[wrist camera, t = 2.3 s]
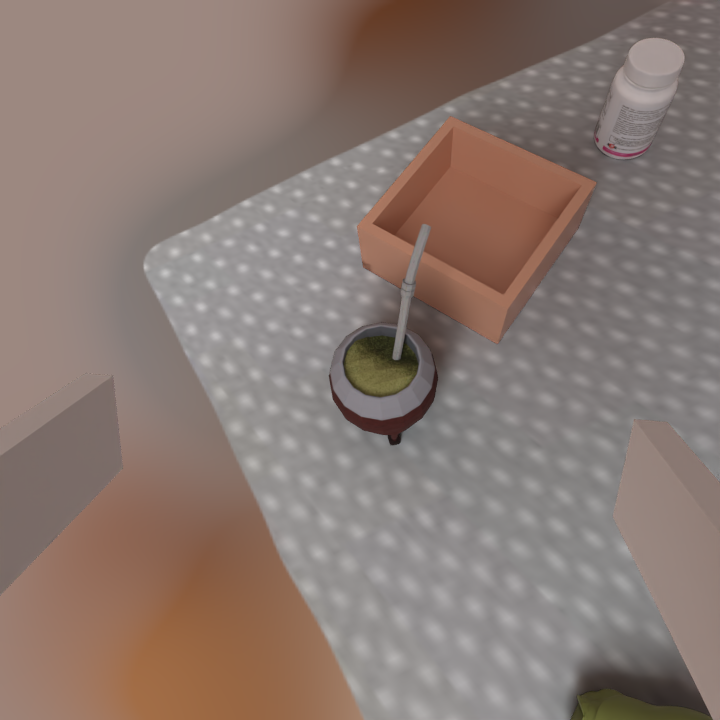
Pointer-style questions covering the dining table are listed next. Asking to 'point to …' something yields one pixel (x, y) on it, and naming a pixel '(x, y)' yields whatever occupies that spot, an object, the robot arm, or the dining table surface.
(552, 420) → the dining table surface
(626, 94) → the pill bottle
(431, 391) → the mate gourd
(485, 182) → the box
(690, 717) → the pear
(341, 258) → the dining table surface
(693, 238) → the dining table surface
